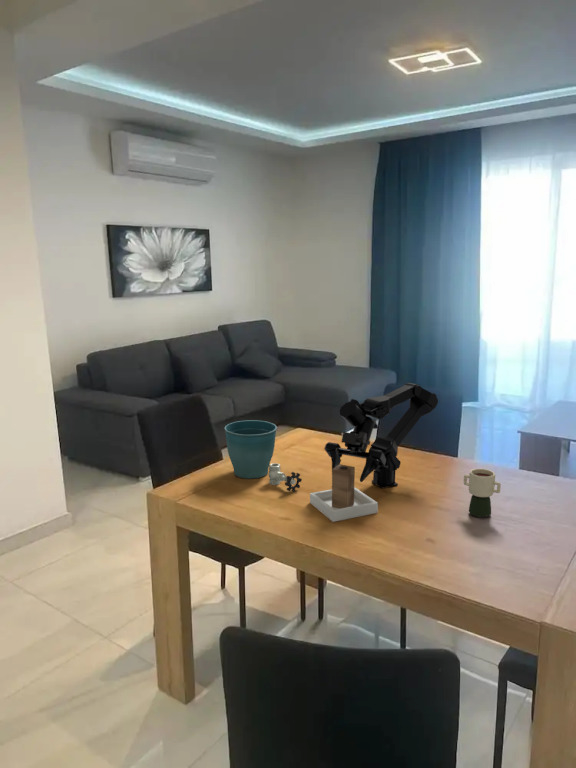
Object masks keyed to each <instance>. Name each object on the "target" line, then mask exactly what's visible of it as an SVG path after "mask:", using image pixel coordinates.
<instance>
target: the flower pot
mask: <svg viewBox="0 0 576 768" xmlns="http://www.w3.org/2000/svg"><path fill="white" fill-rule="evenodd" d="M277 429H278V426H277V425H276V424H275V423H272V422H269V421H265V420H257V419H256V420H255V419H253V420H252V419H251V420H248V419H247V420H246V419H245V420H239V421H234V422H231V423H227V425H225V426H224V431H225V437H226V438H225V440H226V442H225V443H226V449H227V453H228V456H229V459H230V463H231V465H232V468H233V474H234V475H235V476H236V477H238V478H241V479H259V478H262V477H265V476H266V475H267V474H269V465H270V464H271V460H272V458H273V456H274V452H275V446H276V445H275V444H276V437H277V436H276V435H277Z"/></svg>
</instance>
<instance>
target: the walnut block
mask: <svg viewBox="0 0 576 768" xmlns="http://www.w3.org/2000/svg"><path fill="white" fill-rule="evenodd" d="M355 470H356V469H355V466H352V465H346V464H341V463H340V464H339V465H338V466H336V467H335V468H333V469H332V468H331V484H332V485H331V489H332V507H334V508H339V509H341V508H346V507H351V506H353V505H354V487H355V475H356V474H355Z"/></svg>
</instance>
